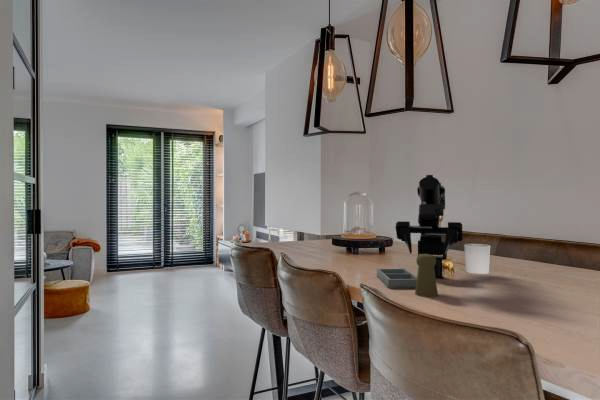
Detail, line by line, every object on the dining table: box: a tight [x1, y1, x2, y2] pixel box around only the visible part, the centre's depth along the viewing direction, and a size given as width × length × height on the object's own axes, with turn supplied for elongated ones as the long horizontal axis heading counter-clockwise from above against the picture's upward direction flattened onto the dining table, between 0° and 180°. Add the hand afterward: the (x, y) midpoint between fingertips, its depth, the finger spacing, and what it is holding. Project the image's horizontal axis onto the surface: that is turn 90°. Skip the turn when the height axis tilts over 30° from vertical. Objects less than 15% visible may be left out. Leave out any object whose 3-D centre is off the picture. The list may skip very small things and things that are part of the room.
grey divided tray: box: [376, 268, 417, 289], centre depth 132 cm, size 10×18×2 cm, turn 0°
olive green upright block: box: [414, 254, 439, 298], centre depth 115 cm, size 6×6×11 cm
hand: (427, 253), depth 119 cm, fingers open, 9 cm apart
